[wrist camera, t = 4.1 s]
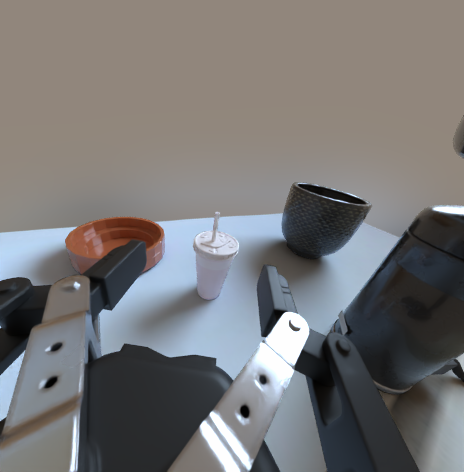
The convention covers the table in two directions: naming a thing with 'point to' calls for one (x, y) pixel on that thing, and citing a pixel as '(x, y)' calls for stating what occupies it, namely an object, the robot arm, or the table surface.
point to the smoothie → (213, 259)
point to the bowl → (113, 240)
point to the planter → (321, 219)
